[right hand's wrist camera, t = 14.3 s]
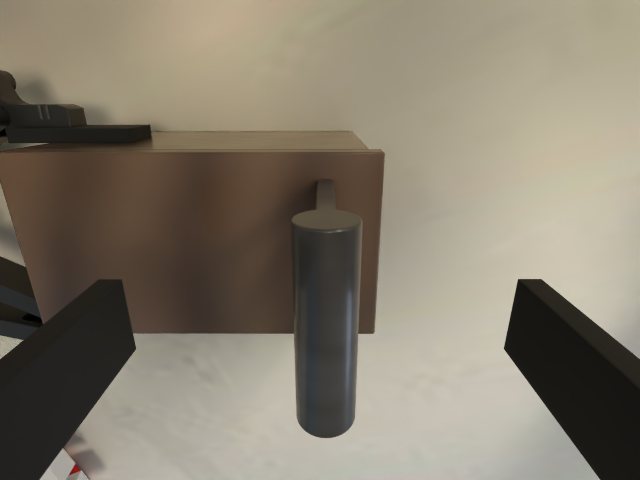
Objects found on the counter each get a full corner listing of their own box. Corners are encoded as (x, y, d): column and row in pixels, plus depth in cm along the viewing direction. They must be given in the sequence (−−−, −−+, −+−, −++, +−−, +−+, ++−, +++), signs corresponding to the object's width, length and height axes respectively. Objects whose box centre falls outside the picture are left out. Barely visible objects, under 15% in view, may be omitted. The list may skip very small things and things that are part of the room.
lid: (381, 149, 17) (431, 190, 9) (372, 323, 20) (403, 462, 13) (8, 149, 17) (-251, 191, 9) (57, 323, 21) (-105, 460, 13)
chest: (352, 131, 27) (369, 149, 17) (349, 250, 30) (362, 323, 20) (122, 131, 27) (9, 149, 17) (143, 250, 30) (58, 322, 21)
